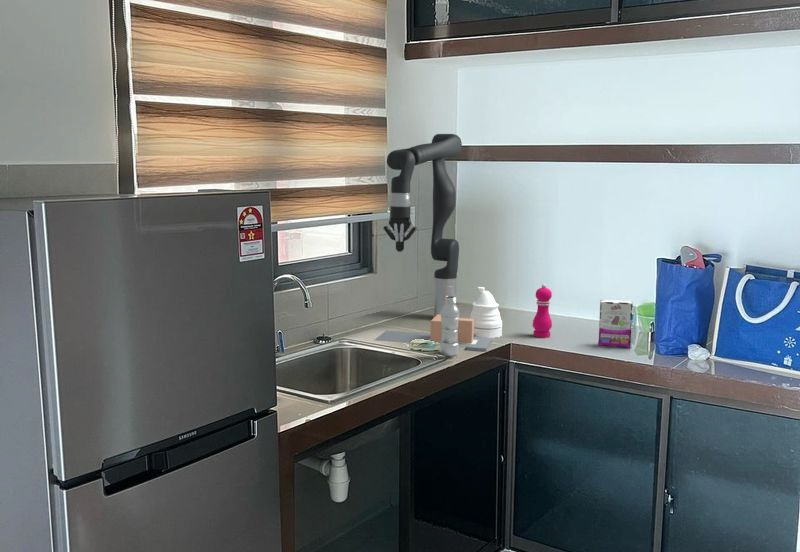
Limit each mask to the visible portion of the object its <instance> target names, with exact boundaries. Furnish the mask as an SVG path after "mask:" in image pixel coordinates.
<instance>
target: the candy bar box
mask: <svg viewBox="0 0 800 552" xmlns="http://www.w3.org/2000/svg"><path fill="white" fill-rule="evenodd" d="M632 320H633V301H632V300H620V299H619V300H617V299H616V300H615V299H614V300H612V299H600V301H599V322H598V325H599V326H598V347H603V348H621V349H631V343H632V342H631V341H632V325H633V321H632Z"/></svg>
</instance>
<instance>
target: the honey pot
mask: <svg viewBox="0 0 800 552" xmlns="http://www.w3.org/2000/svg"><path fill="white" fill-rule="evenodd" d="M485 289H486V288H485V286H484V287H483V286H477V290H478V292H479V293H480V295H478V297H477V299H476V301H474V302H472V303H471V304H472V307H473V308H472V310H471V311H470V316H469V318H468V319H474V336H473V337H487V338H492V339H496V338H495V337H498V338H500V336H501V337H502V336H503V320H502V319H501V315H500V314H501V313H500V311H499V305H500V304H499V303H497V302H496V300H495V297H494V296H493V294H492V293H491V292H490V291H488V290H485Z"/></svg>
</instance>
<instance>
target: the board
mask: <svg viewBox="0 0 800 552" xmlns="http://www.w3.org/2000/svg"><path fill="white" fill-rule="evenodd" d="M430 338H431V332H430V333H429V332H413V331H402V330H401V331H400V330H387V329H386V330H385V331H384V332H382V333H381V334H380V335H378V336H377V337H376V338H375V339H374V341H377V342H378V341H381V342H392V343H406V344H411V343H410V342H411V341H412V340H415V339H424V340H430ZM492 342H493V338H487V337H473V342H472V343H459V342H458V344H459V348H464V351H476V352H487V351H488V350H489V347H490V346H491V344H490V343H492ZM438 346H440V344H439V345H438Z"/></svg>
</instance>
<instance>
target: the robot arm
mask: <svg viewBox="0 0 800 552" xmlns="http://www.w3.org/2000/svg"><path fill="white" fill-rule="evenodd" d="M462 145H463V144H462V139H461V137H459V135H457V134H455V133H437V134H435V135H434V136H432V139H431V143H430V142H429V143H421V144H417V145H414V146H411V147H408V148H401V149H400V148H399V149H394V150H392V151H390V152H389V154H388V155H387V156H386V157H387V158H386V164H387V166H388V168H390V169H392V170H395V171H400V173H399V175H398V176H394V177H392V178H391V182H390V183H391V186H390V202H389V204H390V209H389V212H390V214H389V217H390V219H389V220H388V223H387V224H386V225H385V226H383V230H384V231H385V233H386V234H387V235H388V237H389V239H390V240H392V241H395V250H396V252H399V253H402V252H403V251H404V249H405V242H406V241H409V240H410V239H411V237H412V236H413V234H415V232H416V230H418V227H417V226H414V225H413V224H412V221H411V208H412V207H411V206H412V205H411V202H412V201H411V180H412V177H413V173H414V169H415V166H418V165H421V164H424V163H427V162H430V161H432V162H431V163H432V177H433V178H432V179H433V180H432V229H431V230H432V231H431V242H430V255H431V258H432V260H433V261H438V262H446V265H445V266H444V267H442V268H438V269H436V270H435V271H434V273H433V274H434V275H433V276H434V277H433V312H432V313H433V317H432V319H433V318H434V317H435V316H437V315H438V314H439V315H441V310H442V308H443V307H444V305H445V304H446V303H445V297H446V296H454V297H456V298H457V286H458V285H457V284H458V281H457V280H458V278H457V277H458V269H459V258H460V245H459V242H458V240H457V239H453V238H443V233H444V228H445V225H446V223H447V222H448V220H449V219H450V217H451V215H452V214H453V212H454V210H455V208H456V204H457V203H456V202H457V201H456V197H457V196H456V193H457V192H456V187H455V185H454V183H453V181H452V180H451V178H450V176H449V174H448V172H447V168H446V158H456V157H458V155H459V154H460V153H461V151H462V148H463V146H462ZM391 229H392V230H393V231H392V230H391ZM408 230H409V232H408V233H407V235H406V232H407V231H408ZM393 232H394V233H393ZM455 305H456V306H457V302H456V303H455Z"/></svg>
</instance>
